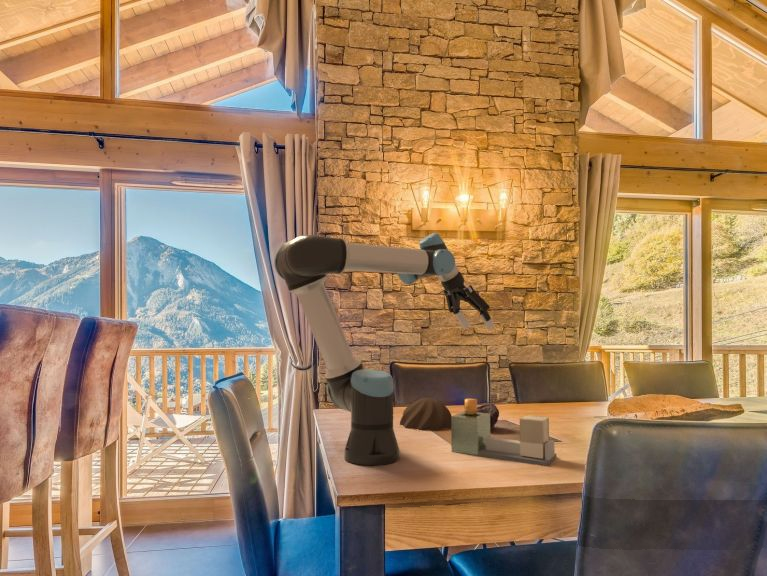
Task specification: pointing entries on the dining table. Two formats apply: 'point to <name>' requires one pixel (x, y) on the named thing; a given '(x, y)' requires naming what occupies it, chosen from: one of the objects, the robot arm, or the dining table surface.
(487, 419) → the green square holder
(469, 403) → the orange rounded piece
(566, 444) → the dining table surface
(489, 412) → the rock
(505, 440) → the grey slide base
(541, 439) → the block
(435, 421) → the decorative dome
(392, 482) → the dining table surface
